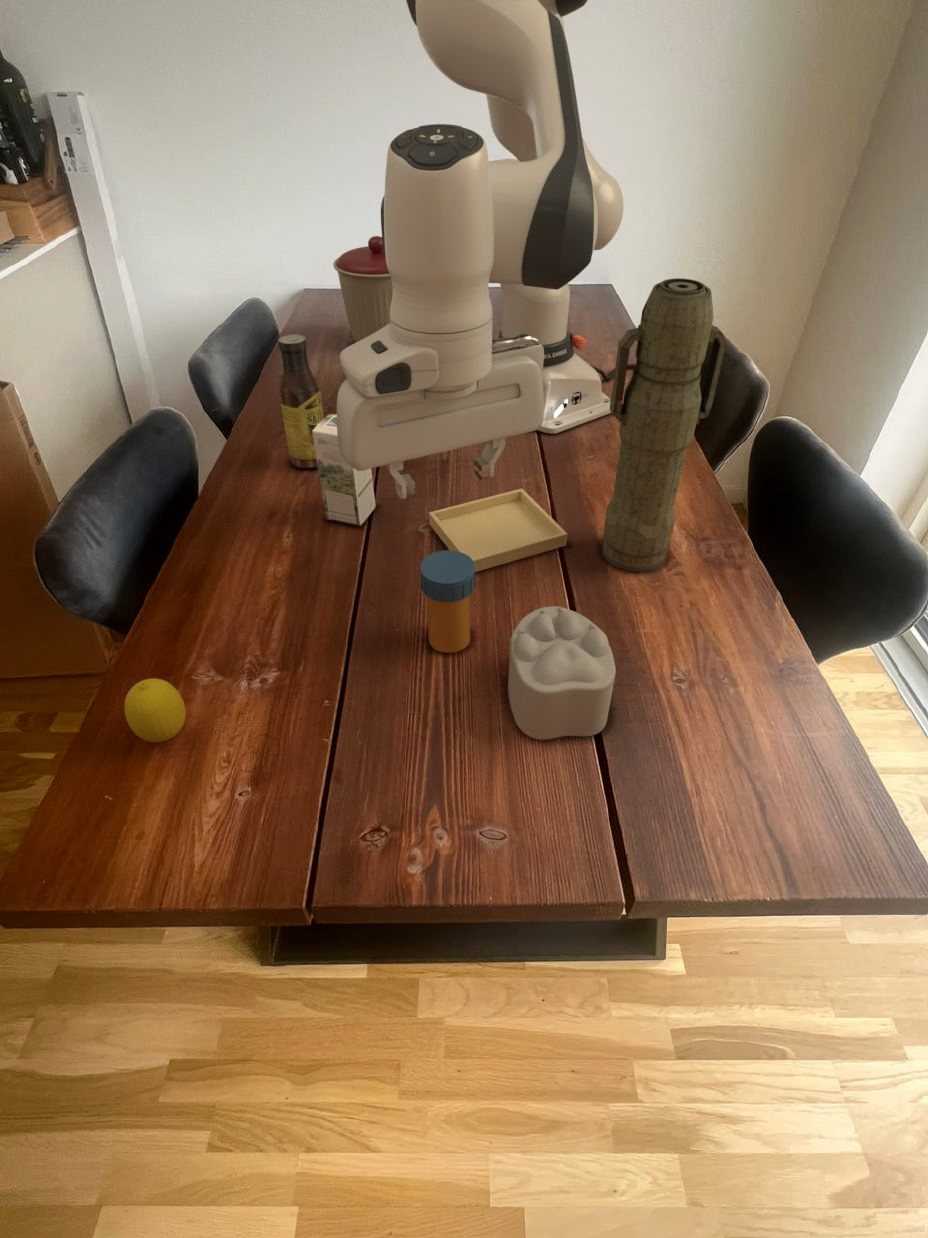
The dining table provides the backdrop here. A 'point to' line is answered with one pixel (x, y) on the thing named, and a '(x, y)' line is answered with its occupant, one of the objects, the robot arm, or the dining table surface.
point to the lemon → (154, 710)
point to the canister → (365, 288)
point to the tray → (498, 529)
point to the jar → (448, 624)
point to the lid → (447, 576)
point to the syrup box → (341, 478)
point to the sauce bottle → (299, 401)
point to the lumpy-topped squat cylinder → (559, 674)
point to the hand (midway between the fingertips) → (445, 485)
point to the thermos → (659, 418)
